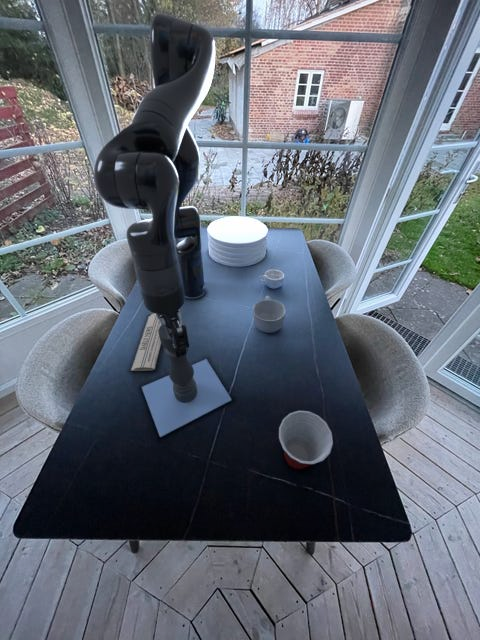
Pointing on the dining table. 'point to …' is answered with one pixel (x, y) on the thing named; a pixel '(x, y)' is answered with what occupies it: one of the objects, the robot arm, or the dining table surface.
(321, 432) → the plastic cup
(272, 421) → the dining table surface
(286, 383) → the dining table surface
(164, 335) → the candle holder
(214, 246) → the plate stack
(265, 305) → the teacup
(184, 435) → the dining table surface
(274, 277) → the teacup
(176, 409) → the cloth
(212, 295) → the dining table surface
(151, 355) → the newspaper
